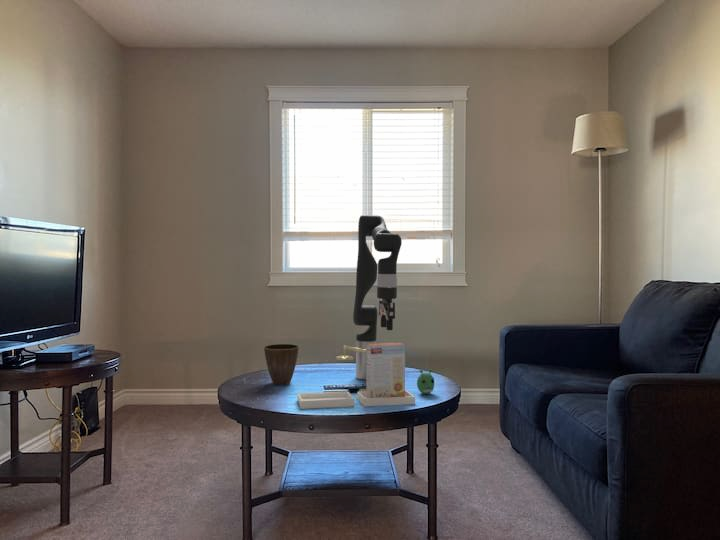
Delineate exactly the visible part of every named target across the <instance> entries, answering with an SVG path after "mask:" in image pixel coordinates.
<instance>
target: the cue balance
mask: <svg viewBox="0 0 720 540" xmlns="http://www.w3.org/2000/svg"><path fill="white" fill-rule="evenodd" d="M342 348H343V355H337V356H335V360H336V361H337V360H338V361H352V360H354V356H351V355H346V350H349V351H353V352H356V351H359V352H364V353H366V350H365V349H360V348H356V347H354V346H349V345H343V346H342ZM358 389H359V390H358V392H359V391H366V388H358Z"/></svg>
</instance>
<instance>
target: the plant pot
mask: <svg viewBox="0 0 720 540" xmlns="http://www.w3.org/2000/svg"><path fill="white" fill-rule="evenodd" d="M299 348H300V347H299V345H297V344H290V343H286V344H285V343H280V344H278V343H277V344H269V345H266V346H265V345H264V347H263V350H264V351H263V352H264V356H265V357H264V358H265V363H266V366H267V370H268V373H269V376H270V378H271V382H272V384H273V385H275V386H285V385H289V384H291V382H292V379H293V376H294V372H295V370H296V366H297V359H298V354H299Z"/></svg>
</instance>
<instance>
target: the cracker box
mask: <svg viewBox="0 0 720 540" xmlns="http://www.w3.org/2000/svg"><path fill="white" fill-rule="evenodd" d="M365 380H366V381H365V382H366V388H365V389H366V398H388V397H405V390H406V345H405V343H402V342H380V343H379V342H378V343H377V342H376V344H366V379H365Z"/></svg>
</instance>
